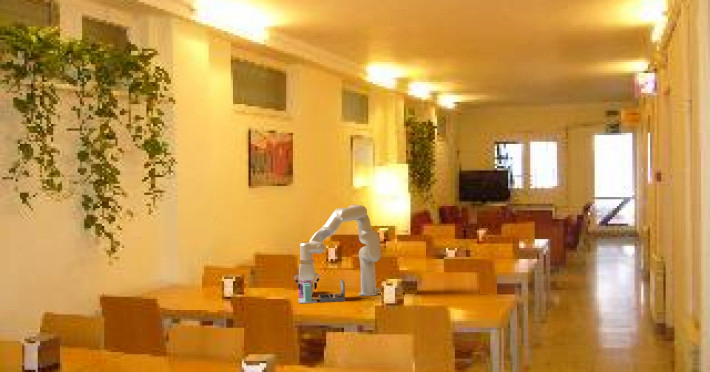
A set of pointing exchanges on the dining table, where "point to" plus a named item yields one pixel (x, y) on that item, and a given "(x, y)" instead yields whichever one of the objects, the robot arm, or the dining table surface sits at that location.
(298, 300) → the mat
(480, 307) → the dining table surface
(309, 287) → the teal board
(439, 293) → the dining table surface
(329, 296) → the rack
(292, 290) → the dining table surface
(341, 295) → the offcut stack
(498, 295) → the dining table surface
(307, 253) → the robot arm
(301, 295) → the gum box
